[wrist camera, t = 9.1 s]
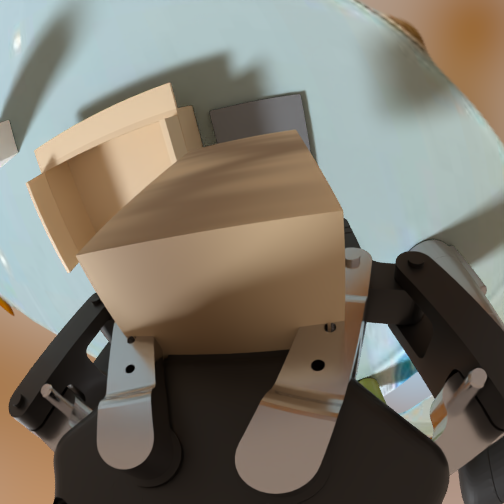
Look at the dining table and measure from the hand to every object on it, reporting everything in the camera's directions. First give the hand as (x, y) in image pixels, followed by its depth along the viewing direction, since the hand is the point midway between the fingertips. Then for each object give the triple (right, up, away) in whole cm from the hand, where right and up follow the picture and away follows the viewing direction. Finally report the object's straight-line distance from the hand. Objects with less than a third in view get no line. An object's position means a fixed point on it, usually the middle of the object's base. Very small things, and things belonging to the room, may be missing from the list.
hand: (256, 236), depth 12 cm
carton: (-14, +7, +17) cm, 23 cm away
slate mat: (+1, +9, +15) cm, 17 cm away
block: (0, +1, +2) cm, 2 cm away
